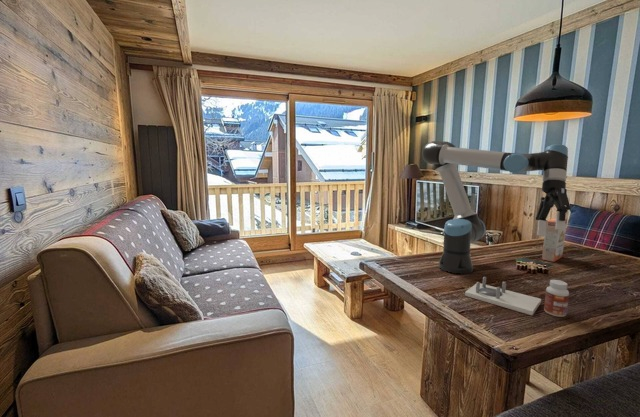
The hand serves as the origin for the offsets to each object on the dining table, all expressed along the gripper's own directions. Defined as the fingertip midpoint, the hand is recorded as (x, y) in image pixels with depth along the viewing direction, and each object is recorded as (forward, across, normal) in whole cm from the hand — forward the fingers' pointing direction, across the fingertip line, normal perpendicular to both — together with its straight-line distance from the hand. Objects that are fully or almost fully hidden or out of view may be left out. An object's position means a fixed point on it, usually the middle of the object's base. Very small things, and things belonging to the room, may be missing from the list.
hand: (550, 233), depth 119 cm
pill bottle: (+30, -9, +1) cm, 31 cm away
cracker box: (0, +50, -25) cm, 56 cm away
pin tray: (+29, -1, +15) cm, 32 cm away
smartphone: (+6, +42, -13) cm, 44 cm away
